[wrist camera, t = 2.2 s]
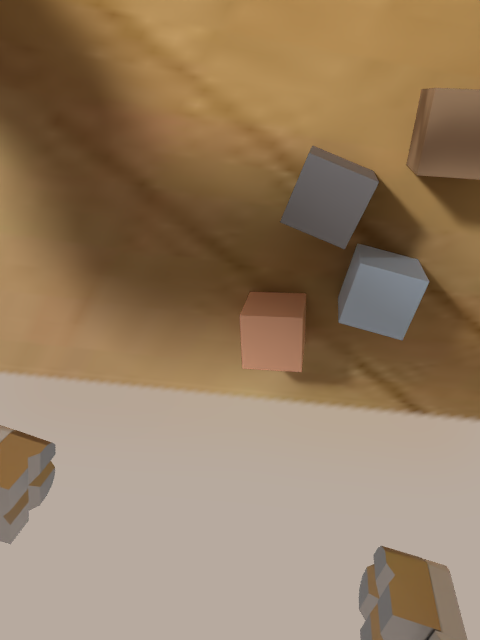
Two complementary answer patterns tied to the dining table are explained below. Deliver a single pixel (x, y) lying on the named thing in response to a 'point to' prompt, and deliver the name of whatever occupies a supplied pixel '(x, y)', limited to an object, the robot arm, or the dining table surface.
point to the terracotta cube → (273, 331)
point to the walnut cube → (446, 134)
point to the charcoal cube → (329, 197)
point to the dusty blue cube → (381, 291)
